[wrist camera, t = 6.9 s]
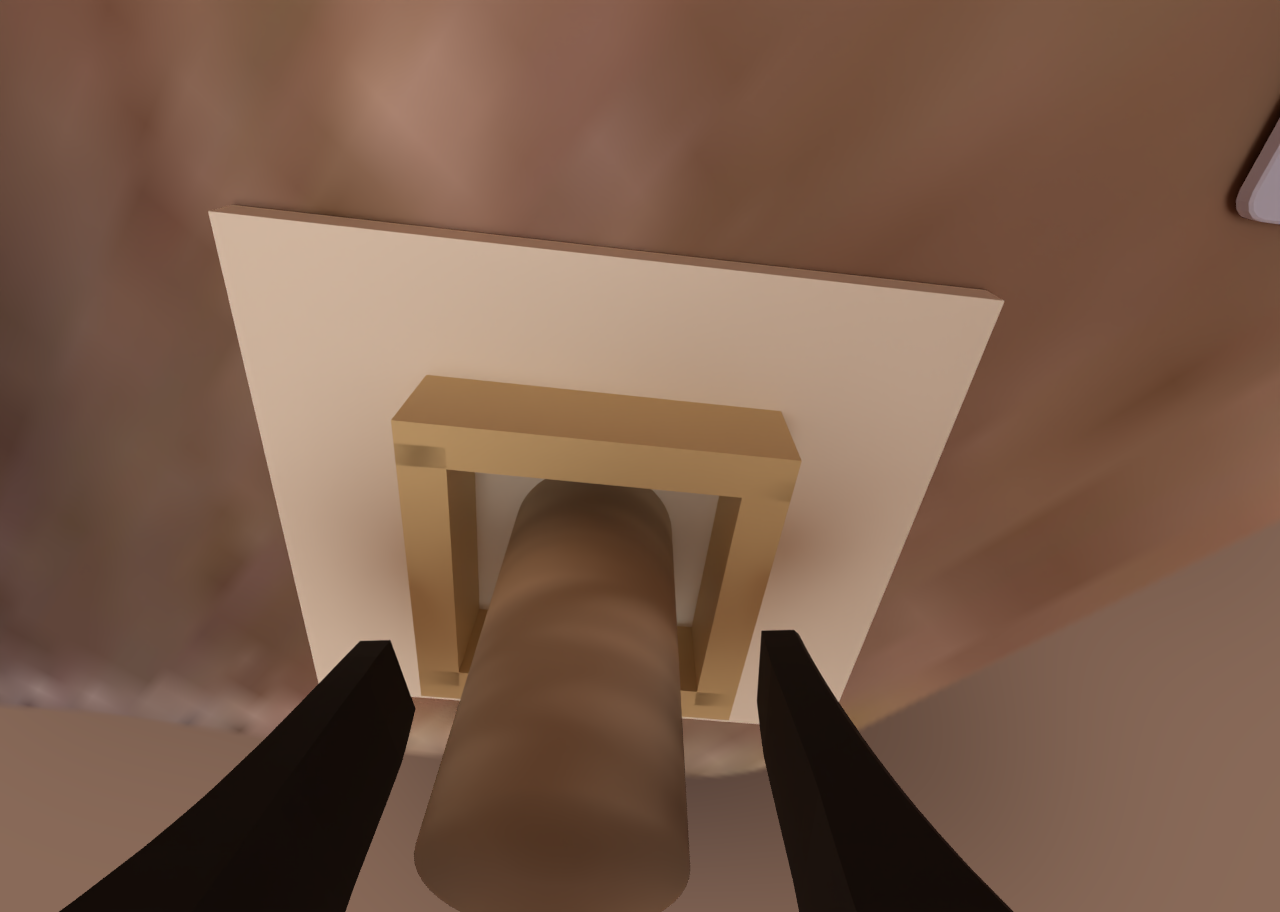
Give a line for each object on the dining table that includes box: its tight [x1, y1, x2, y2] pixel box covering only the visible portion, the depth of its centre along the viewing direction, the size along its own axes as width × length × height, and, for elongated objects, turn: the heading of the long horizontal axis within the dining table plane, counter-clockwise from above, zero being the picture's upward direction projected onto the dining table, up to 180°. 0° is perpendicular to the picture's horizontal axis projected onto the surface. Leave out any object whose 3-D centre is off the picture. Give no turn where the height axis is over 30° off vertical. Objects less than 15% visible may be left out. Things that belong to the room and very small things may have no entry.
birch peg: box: [414, 479, 690, 912], centre depth 12 cm, size 4×4×8 cm
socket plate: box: [208, 205, 1004, 724], centre depth 15 cm, size 16×14×3 cm
